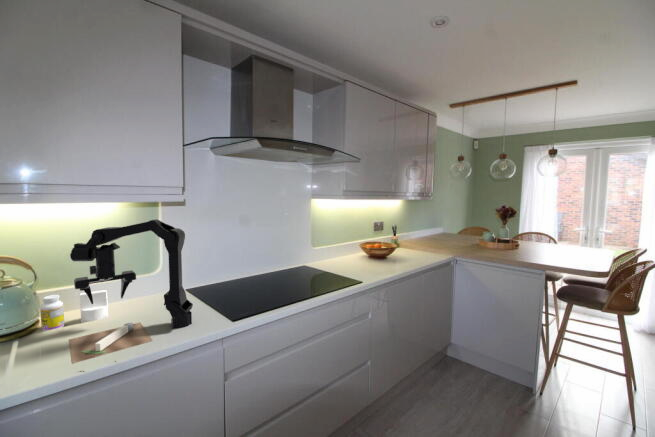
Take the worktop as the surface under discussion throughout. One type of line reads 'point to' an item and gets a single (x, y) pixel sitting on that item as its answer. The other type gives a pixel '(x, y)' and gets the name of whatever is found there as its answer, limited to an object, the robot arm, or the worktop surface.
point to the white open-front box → (94, 306)
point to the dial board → (86, 349)
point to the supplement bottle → (52, 313)
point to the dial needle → (113, 336)
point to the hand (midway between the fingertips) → (107, 300)
